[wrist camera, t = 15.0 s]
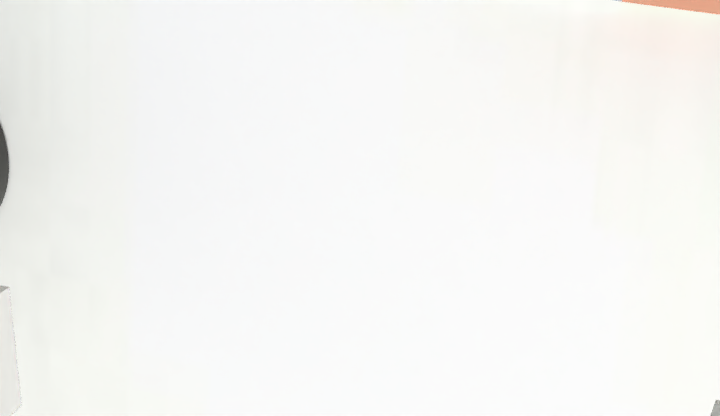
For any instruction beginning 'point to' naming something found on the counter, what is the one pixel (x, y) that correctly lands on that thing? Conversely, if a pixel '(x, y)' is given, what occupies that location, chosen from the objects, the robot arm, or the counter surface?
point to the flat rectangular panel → (683, 4)
